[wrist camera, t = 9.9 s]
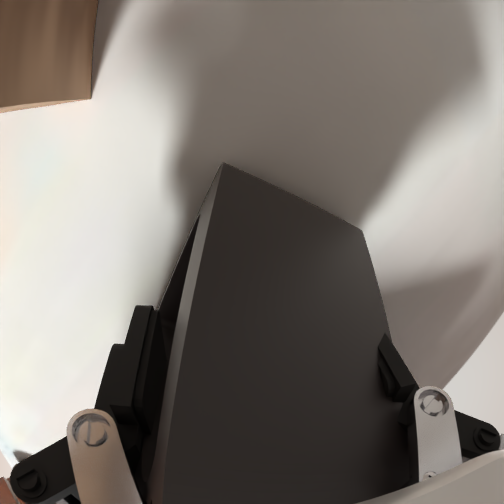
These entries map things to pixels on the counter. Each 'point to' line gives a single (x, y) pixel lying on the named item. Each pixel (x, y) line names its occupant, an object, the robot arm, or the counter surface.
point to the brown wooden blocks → (45, 52)
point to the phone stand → (272, 360)
